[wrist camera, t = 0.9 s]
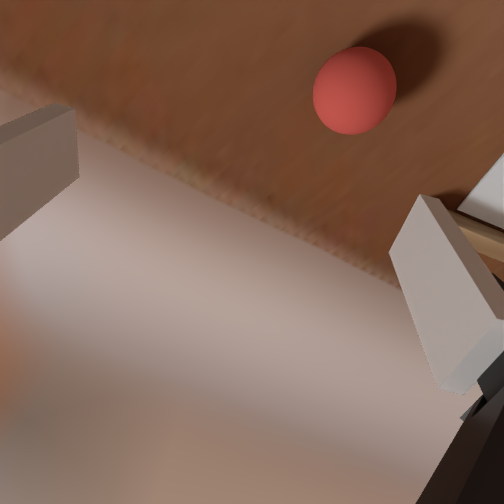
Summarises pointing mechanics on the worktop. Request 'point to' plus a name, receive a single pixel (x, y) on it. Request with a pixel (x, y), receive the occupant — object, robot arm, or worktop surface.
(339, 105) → the ball
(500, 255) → the wooden angle block
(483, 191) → the pin deck mark
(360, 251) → the worktop surface
